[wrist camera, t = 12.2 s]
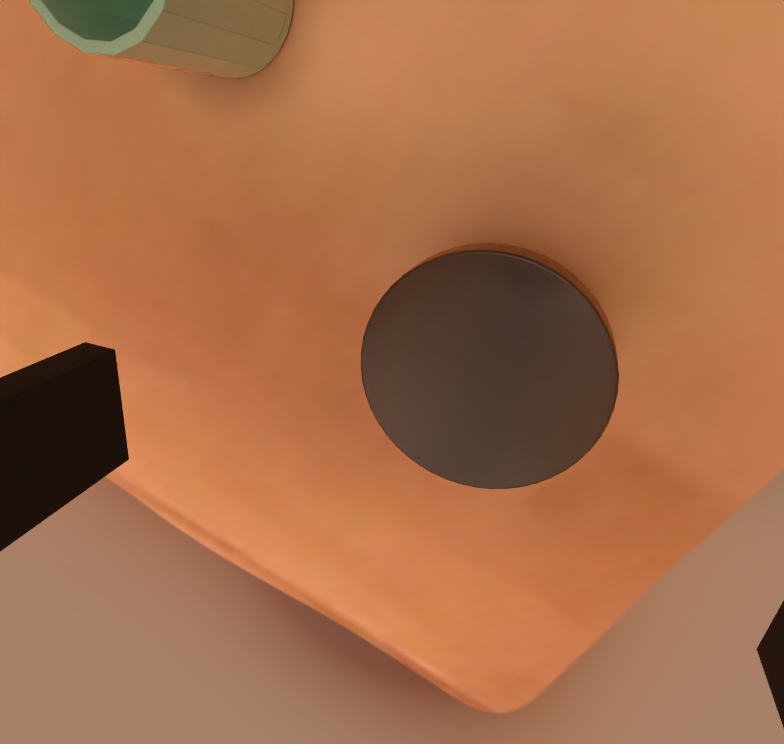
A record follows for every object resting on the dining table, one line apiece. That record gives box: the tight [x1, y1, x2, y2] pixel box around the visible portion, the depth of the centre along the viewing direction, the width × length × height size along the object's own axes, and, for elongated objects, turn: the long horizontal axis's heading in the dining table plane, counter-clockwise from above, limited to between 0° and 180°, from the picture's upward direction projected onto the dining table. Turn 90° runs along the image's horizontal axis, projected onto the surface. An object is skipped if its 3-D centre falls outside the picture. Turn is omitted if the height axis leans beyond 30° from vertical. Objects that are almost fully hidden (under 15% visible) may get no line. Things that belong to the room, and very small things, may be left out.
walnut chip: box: [361, 243, 619, 489], centre depth 16 cm, size 8×8×1 cm
